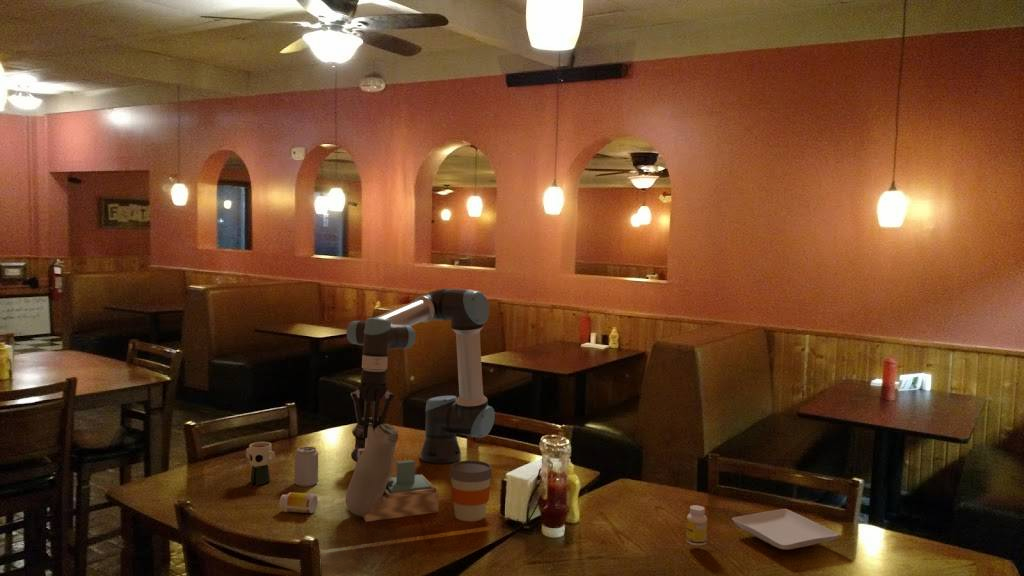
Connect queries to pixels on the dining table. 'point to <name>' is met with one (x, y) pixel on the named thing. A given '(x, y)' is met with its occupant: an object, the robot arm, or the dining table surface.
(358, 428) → the apothecary jar
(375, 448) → the brown rounded cylinder
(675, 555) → the dining table surface
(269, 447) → the character mug
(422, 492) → the latch box
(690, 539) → the supplement bottle
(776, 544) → the salad plate
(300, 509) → the supplement bottle
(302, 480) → the can
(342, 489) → the dining table surface
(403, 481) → the cover
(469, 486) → the reusable coffee cup
